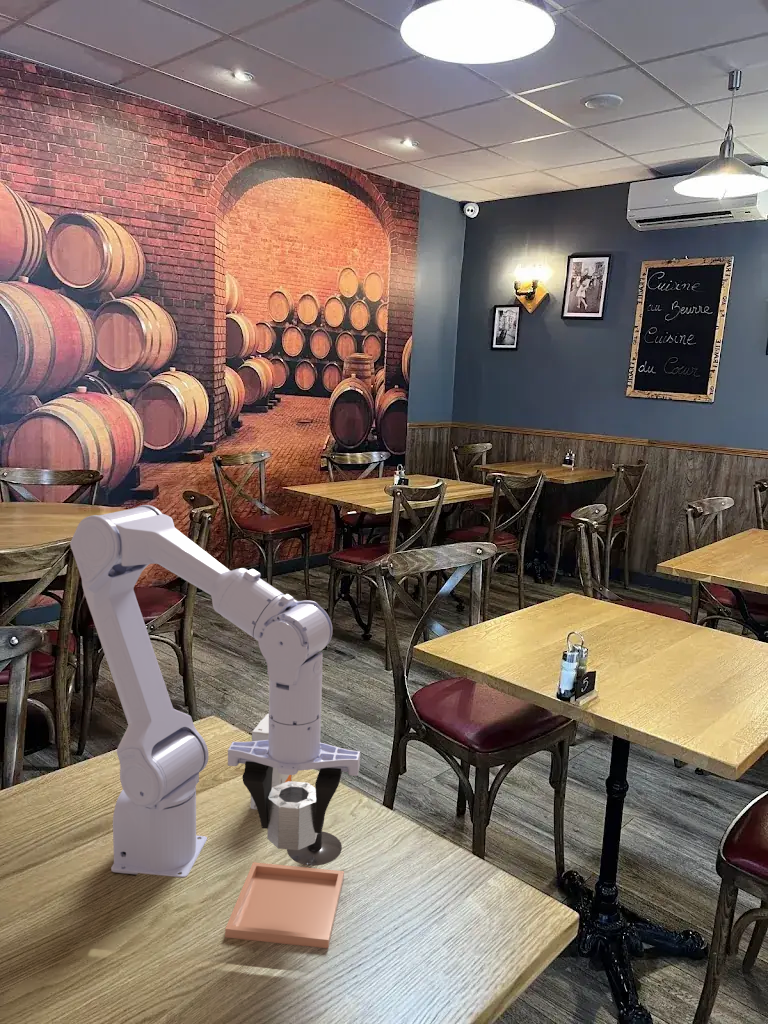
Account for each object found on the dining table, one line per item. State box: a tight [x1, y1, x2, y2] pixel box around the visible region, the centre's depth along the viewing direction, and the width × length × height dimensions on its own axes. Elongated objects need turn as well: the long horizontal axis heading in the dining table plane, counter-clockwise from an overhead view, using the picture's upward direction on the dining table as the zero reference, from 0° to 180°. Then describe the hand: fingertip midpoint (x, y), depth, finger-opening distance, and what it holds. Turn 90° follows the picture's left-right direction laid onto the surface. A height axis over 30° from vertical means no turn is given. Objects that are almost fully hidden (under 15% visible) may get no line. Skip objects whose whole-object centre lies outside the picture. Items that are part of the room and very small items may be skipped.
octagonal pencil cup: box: [266, 780, 317, 850], centre depth 84 cm, size 5×5×5 cm
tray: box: [224, 861, 345, 950], centre depth 85 cm, size 11×11×2 cm
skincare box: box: [250, 713, 293, 810], centre depth 105 cm, size 6×4×12 cm
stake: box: [286, 831, 343, 866], centre depth 95 cm, size 7×7×6 cm
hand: (292, 825), depth 85 cm, fingers closed on octagonal pencil cup, 5 cm apart
